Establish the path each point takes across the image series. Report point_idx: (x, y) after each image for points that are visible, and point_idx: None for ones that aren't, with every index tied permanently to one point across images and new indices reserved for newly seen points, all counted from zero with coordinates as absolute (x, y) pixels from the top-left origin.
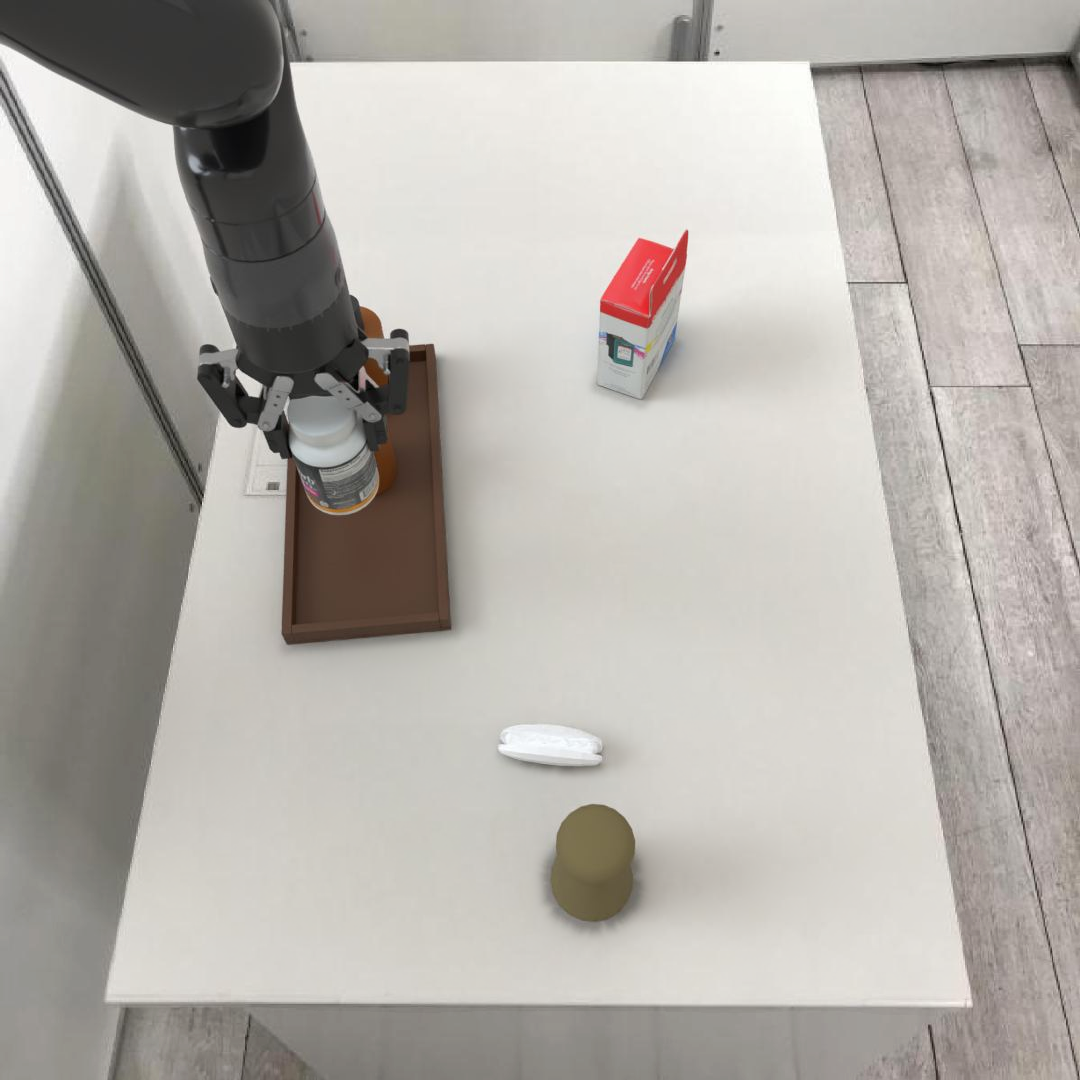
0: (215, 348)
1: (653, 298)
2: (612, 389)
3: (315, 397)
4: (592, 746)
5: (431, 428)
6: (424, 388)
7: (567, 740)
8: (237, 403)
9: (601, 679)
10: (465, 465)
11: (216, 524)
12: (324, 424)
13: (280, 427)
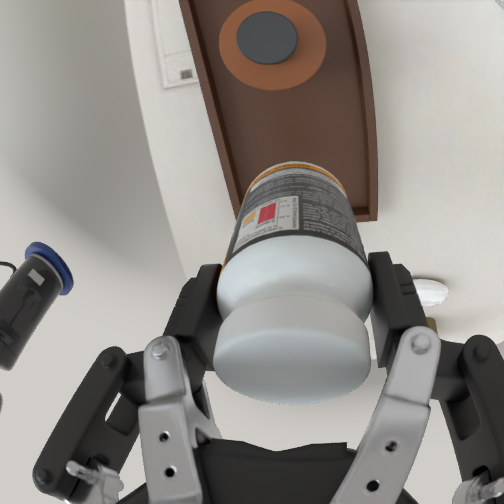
0: (55, 491)
1: None
2: (497, 1)
3: (274, 362)
4: (444, 300)
5: (351, 8)
6: None
7: (433, 298)
8: (134, 429)
9: (459, 246)
10: (383, 43)
11: (150, 122)
12: (303, 397)
13: (212, 369)
